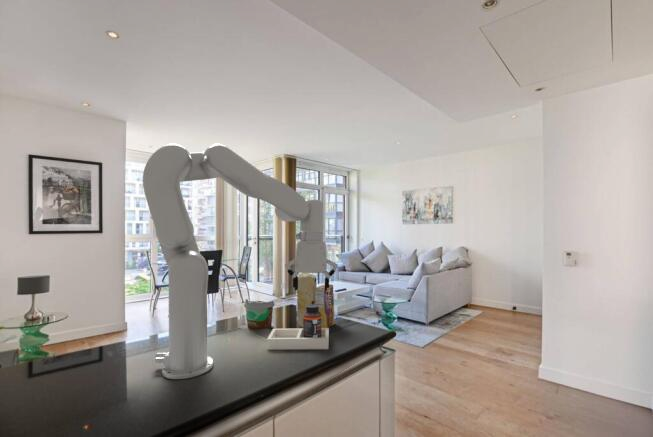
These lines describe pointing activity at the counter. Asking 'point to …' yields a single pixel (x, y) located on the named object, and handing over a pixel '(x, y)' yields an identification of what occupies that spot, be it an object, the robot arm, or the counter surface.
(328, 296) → the candy box
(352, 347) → the counter surface
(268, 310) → the food container
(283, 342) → the holder
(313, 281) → the food model
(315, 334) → the supplement bottle
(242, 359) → the counter surface
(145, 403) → the counter surface
